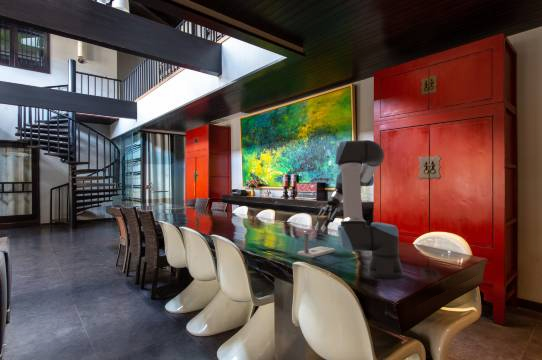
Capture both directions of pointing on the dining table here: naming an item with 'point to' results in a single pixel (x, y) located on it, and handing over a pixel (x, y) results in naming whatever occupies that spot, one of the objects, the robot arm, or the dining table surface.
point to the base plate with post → (314, 249)
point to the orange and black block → (320, 223)
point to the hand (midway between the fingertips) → (319, 229)
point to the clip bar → (301, 230)
